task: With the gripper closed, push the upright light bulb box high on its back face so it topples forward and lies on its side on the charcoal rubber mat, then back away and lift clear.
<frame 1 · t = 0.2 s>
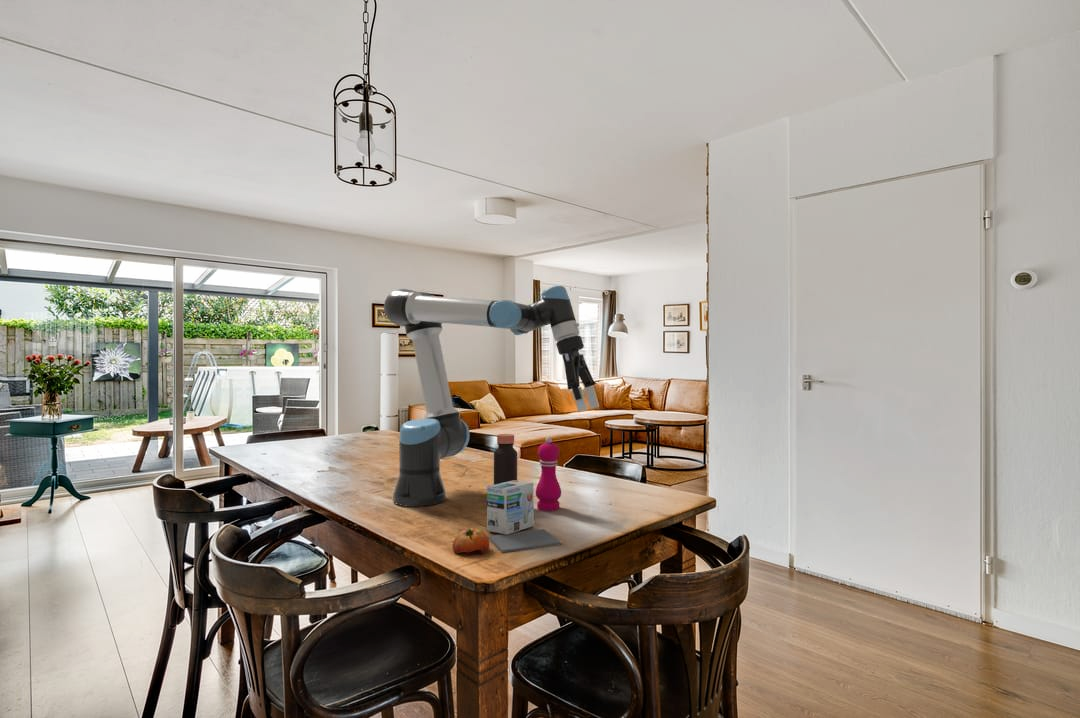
hand: (589, 409, 151), 28 cm above the table, tool tilted 20°, fingers open, 13 cm apart
light bulb box: (510, 529, 130), on the table, touching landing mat
bottle: (505, 505, 153), on the table
pepper mill: (548, 509, 149), on the table
tomato: (470, 551, 116), on the table
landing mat: (524, 541, 122), on the table
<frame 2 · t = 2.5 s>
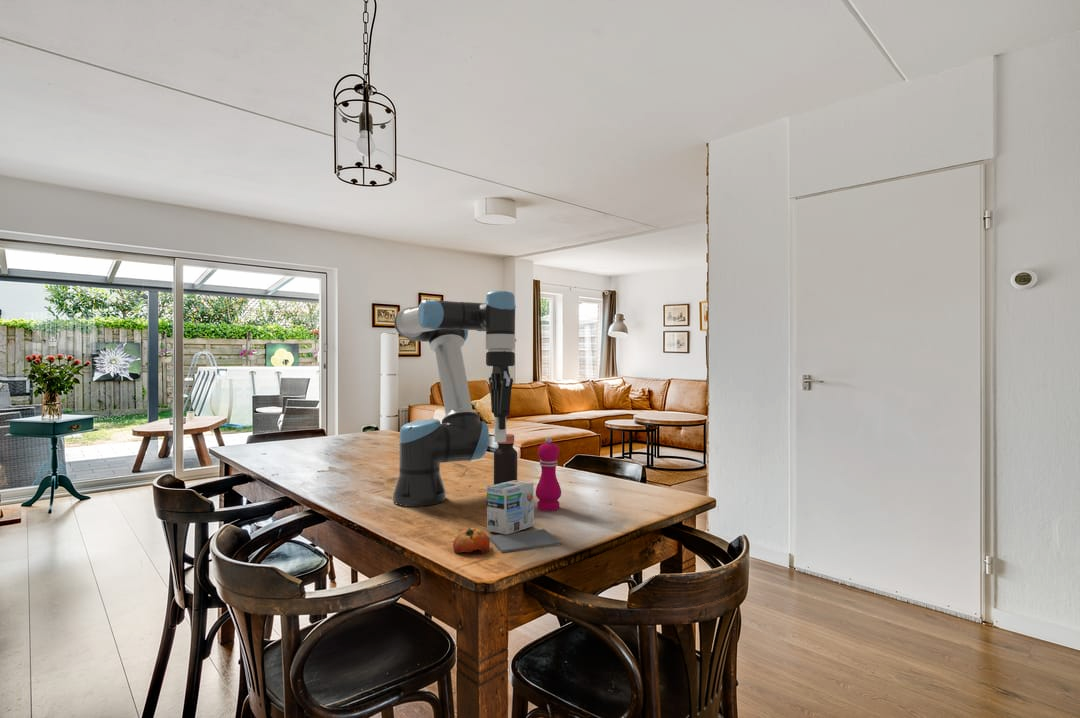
hand: (500, 441, 139), 20 cm above the table, tool pointing down, fingers closed
nothing on the table moved.
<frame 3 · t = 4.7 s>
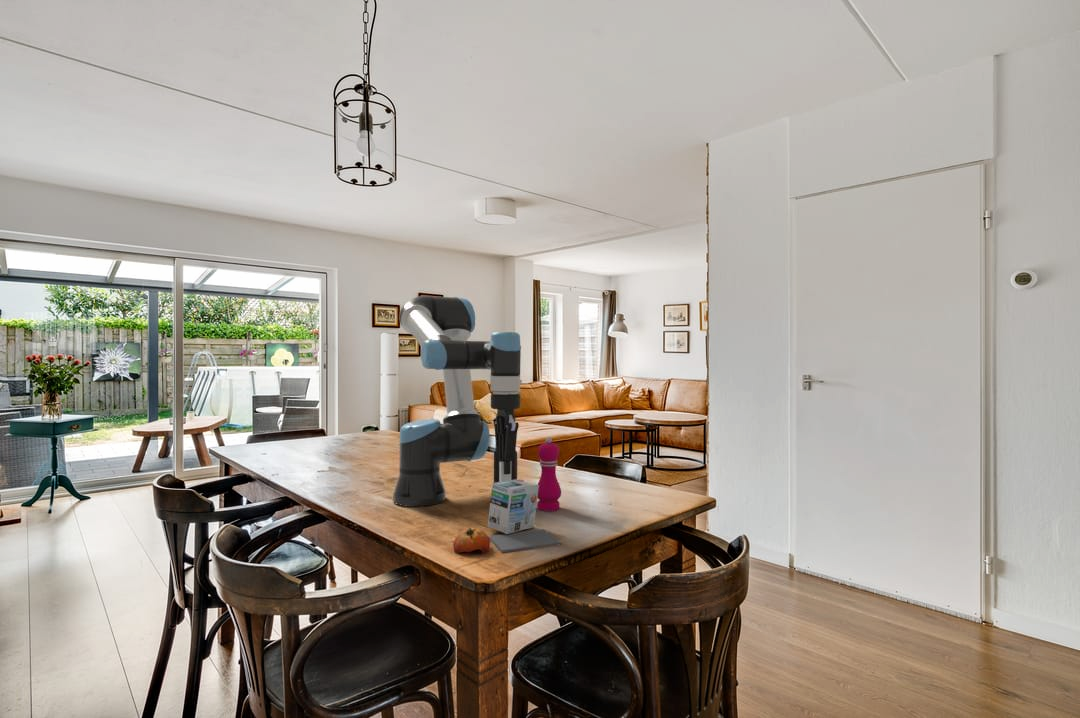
hand: (505, 486, 135), 10 cm above the table, tool pointing down, fingers closed
light bulb box: (510, 527, 130), on the table, touching gripper, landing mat
everything else where it was.
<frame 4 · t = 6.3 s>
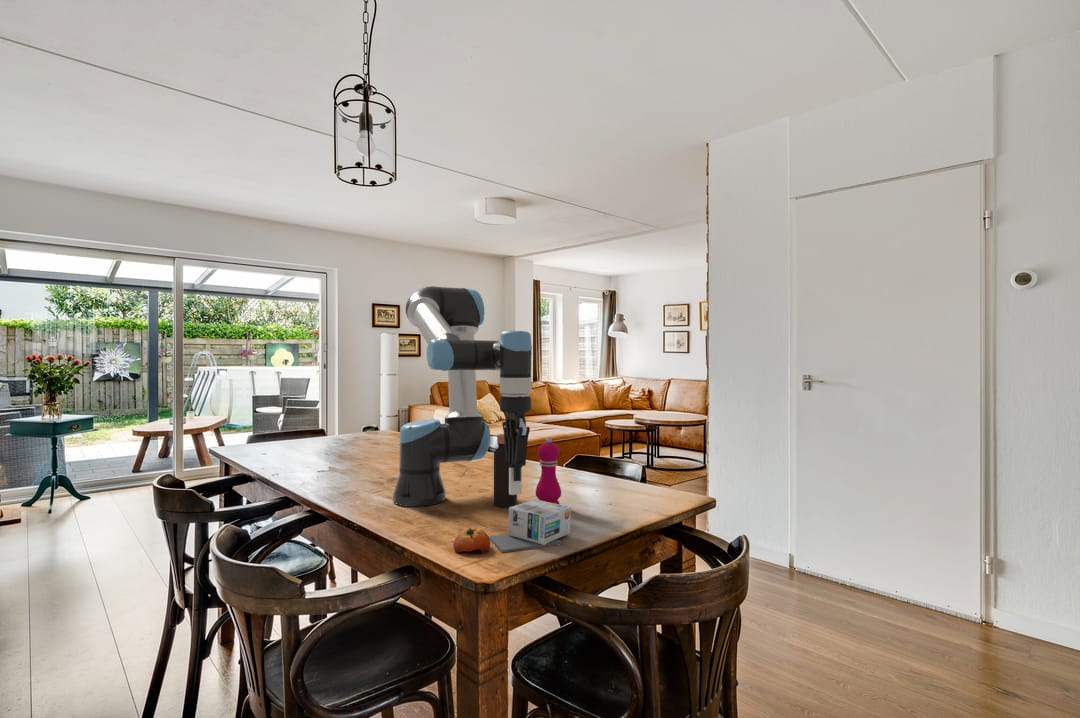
hand: (515, 493, 128), 9 cm above the table, tool pointing down, fingers closed
light bulb box: (521, 516, 128), point 4 cm above the table, touching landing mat
everything else where it was.
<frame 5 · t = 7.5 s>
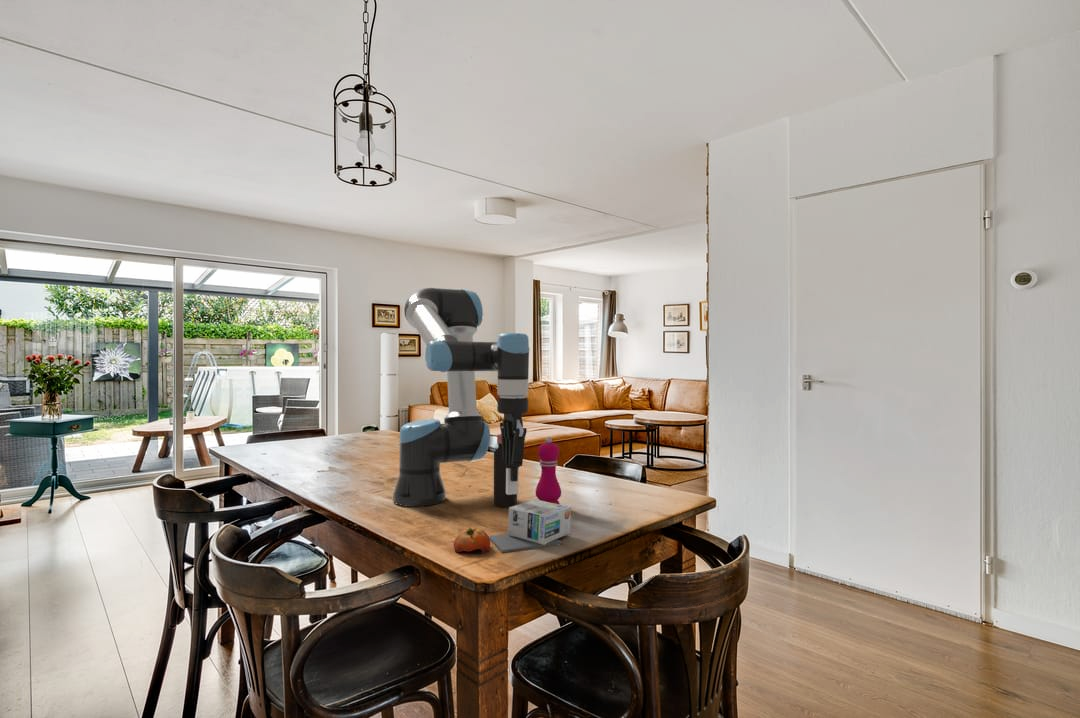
hand: (512, 493, 130), 9 cm above the table, tool pointing down, fingers closed
nothing on the table moved.
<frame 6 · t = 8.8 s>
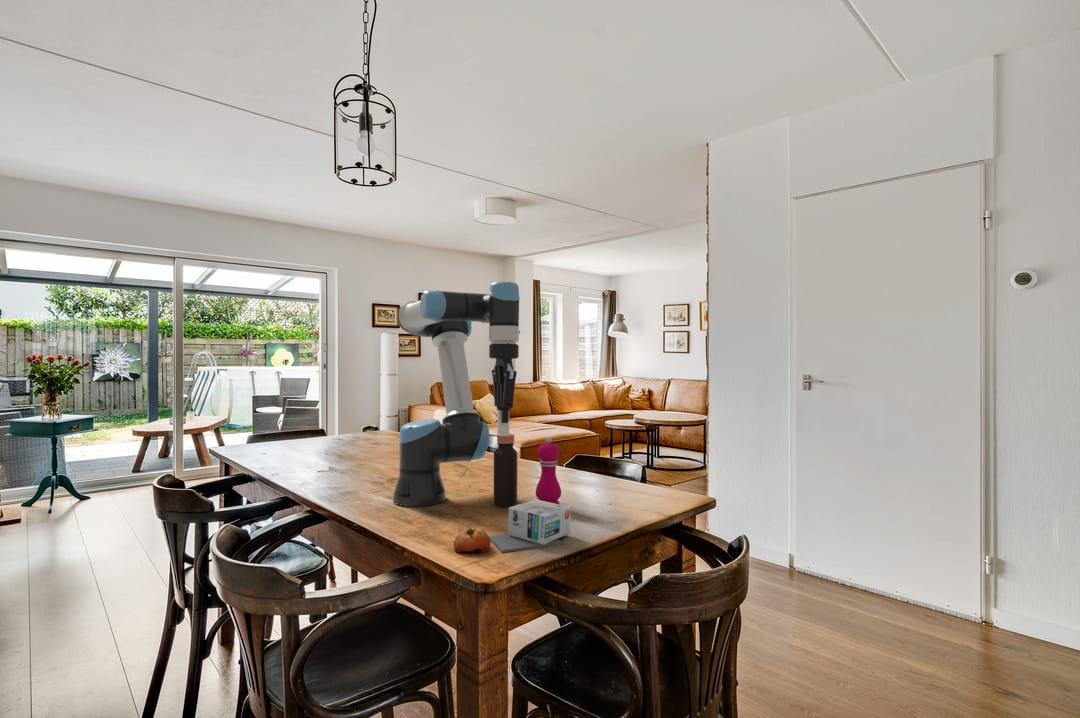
hand: (503, 435, 136), 22 cm above the table, tool pointing down, fingers closed
nothing on the table moved.
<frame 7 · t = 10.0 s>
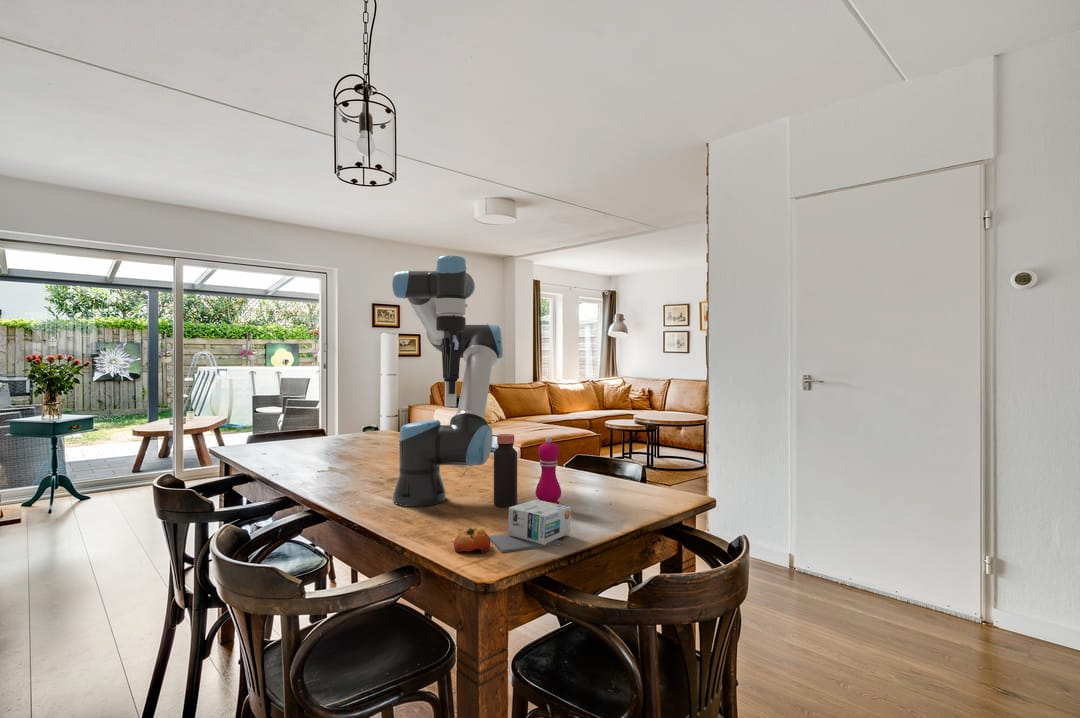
hand: (450, 406, 139), 29 cm above the table, tool pointing down, fingers closed
nothing on the table moved.
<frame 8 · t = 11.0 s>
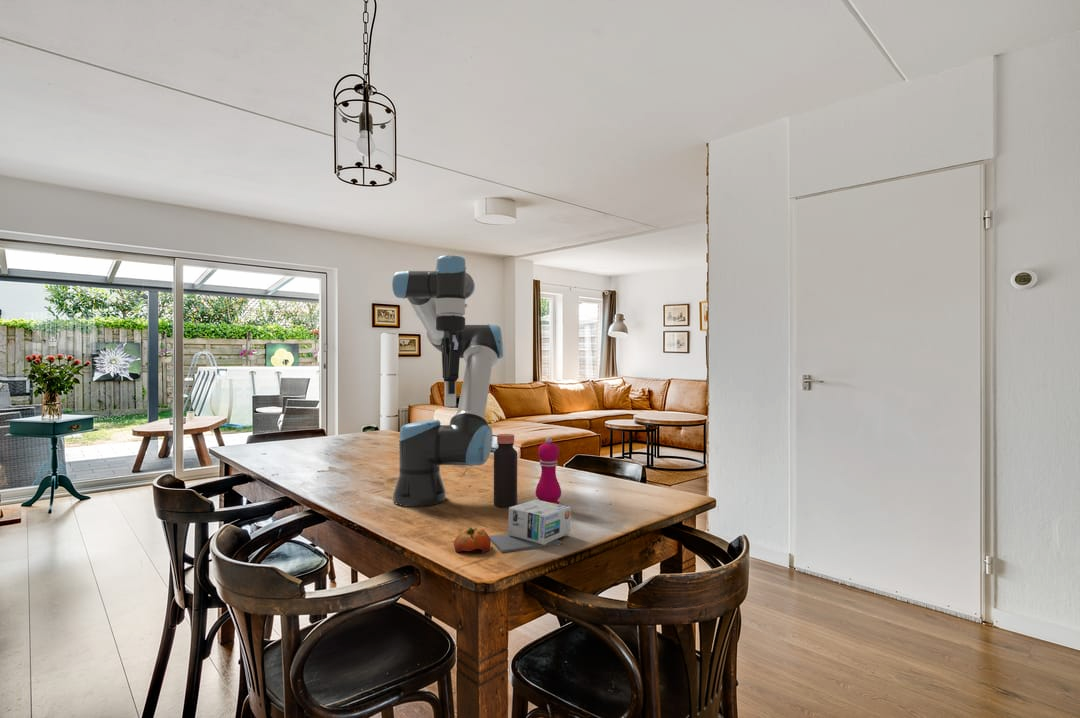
hand: (450, 406, 139), 29 cm above the table, tool pointing down, fingers closed
nothing on the table moved.
at the end: light bulb box tilted 91°; light bulb box inside the target area (3.1 cm from its centre), point 4.0 cm above the table; light bulb box touching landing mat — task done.
